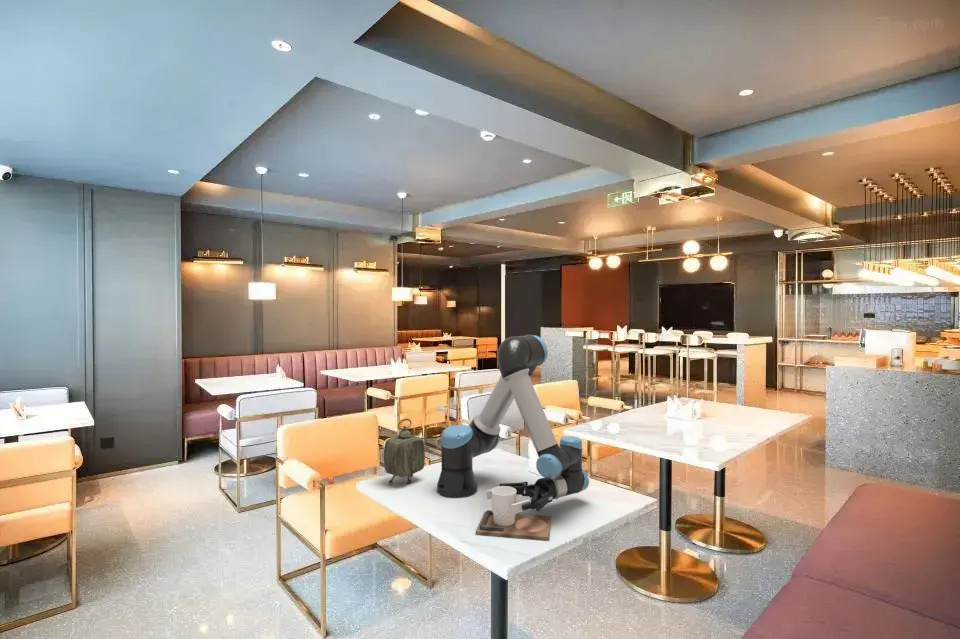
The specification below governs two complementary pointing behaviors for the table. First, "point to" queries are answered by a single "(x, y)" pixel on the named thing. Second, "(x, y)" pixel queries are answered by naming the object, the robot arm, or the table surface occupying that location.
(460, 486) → the robot arm
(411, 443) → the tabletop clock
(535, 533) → the walnut board
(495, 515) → the white cup
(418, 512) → the table surface
